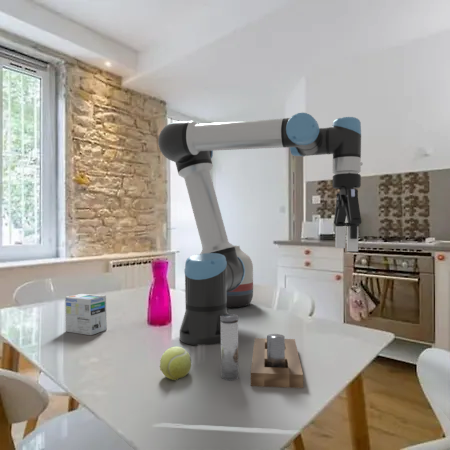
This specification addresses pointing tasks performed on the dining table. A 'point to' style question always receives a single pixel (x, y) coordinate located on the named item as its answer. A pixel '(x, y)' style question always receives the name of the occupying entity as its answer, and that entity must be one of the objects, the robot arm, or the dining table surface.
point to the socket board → (276, 376)
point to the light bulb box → (85, 314)
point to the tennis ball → (175, 363)
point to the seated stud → (276, 351)
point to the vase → (242, 284)
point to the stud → (229, 346)
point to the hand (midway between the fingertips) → (346, 249)
